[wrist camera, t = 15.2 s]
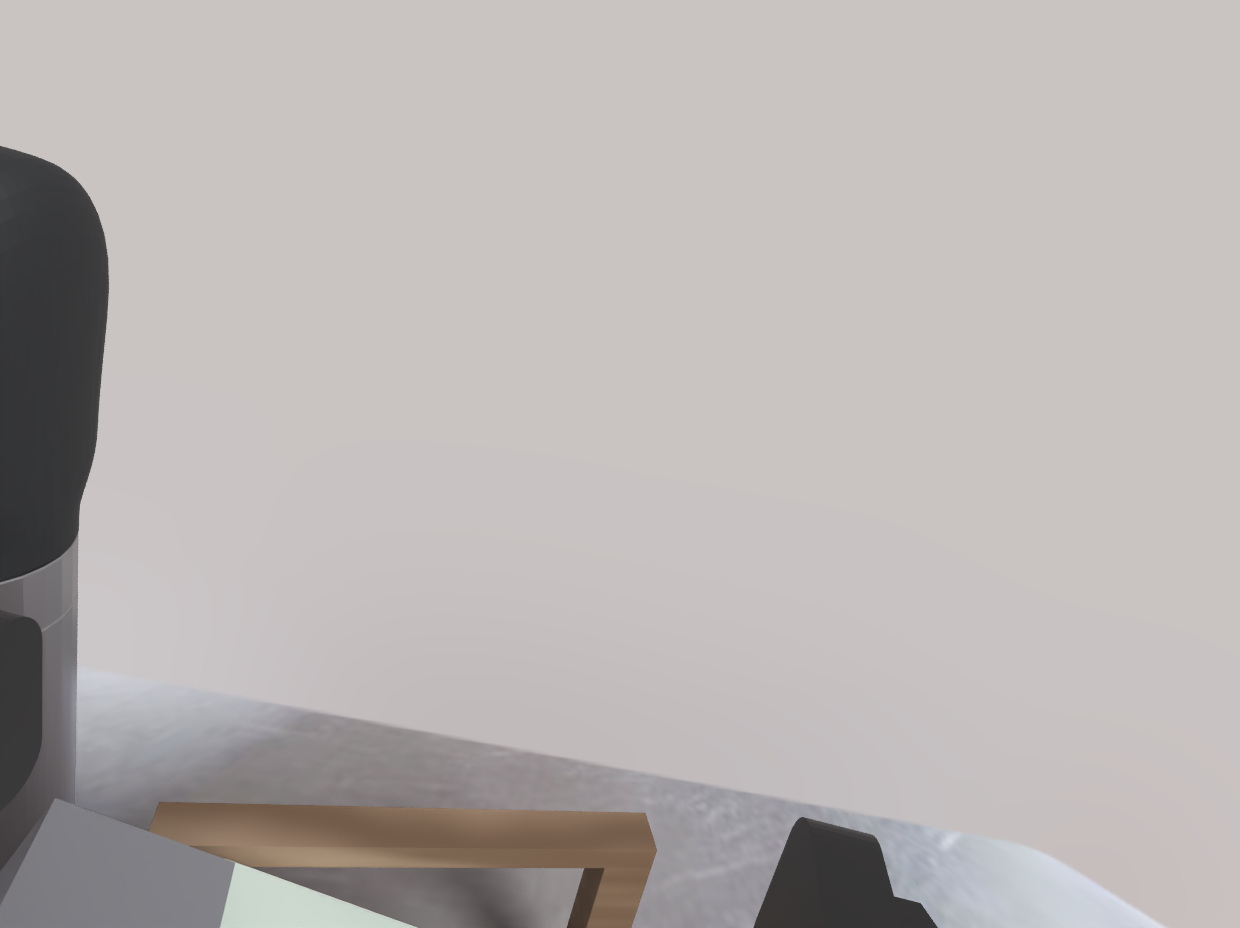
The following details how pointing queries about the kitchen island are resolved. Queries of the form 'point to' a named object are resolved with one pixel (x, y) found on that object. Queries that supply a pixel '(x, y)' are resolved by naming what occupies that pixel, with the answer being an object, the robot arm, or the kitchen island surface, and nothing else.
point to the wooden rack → (432, 843)
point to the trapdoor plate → (150, 883)
